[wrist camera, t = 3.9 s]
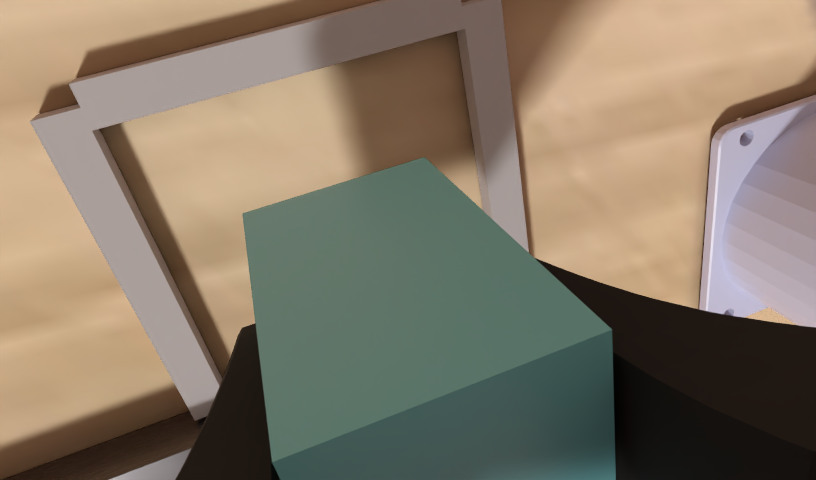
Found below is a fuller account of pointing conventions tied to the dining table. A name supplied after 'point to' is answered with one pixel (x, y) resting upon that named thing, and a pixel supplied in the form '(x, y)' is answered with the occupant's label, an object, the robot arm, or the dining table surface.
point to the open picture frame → (240, 69)
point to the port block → (128, 455)
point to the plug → (421, 341)
